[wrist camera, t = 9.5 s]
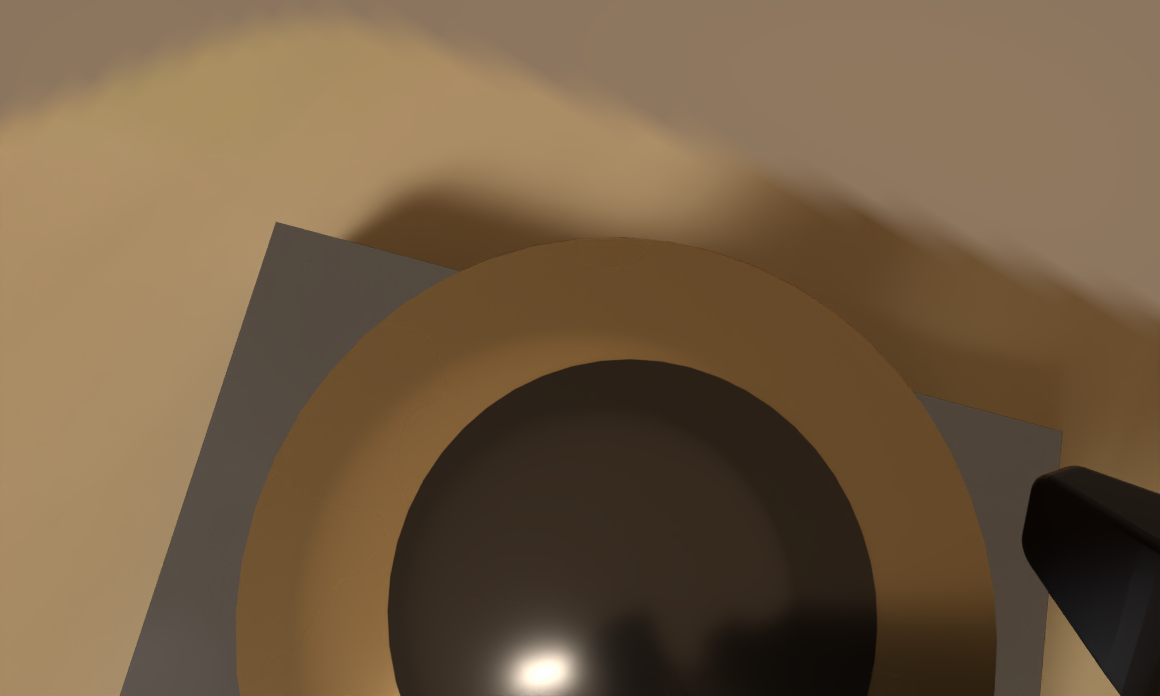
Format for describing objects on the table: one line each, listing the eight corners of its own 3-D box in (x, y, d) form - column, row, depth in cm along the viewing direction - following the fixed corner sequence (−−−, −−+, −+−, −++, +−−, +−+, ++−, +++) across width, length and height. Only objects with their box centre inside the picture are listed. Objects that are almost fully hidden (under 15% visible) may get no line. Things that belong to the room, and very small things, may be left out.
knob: (672, 626, 19) (1142, 654, 7) (458, 817, 18) (590, 1264, 6) (506, 416, 19) (681, 107, 7) (284, 587, 18) (59, 541, 6)
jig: (970, 455, 21) (1062, 431, 18) (910, 999, 18) (1007, 1073, 15) (293, 279, 19) (275, 222, 16) (114, 842, 17) (55, 890, 14)
